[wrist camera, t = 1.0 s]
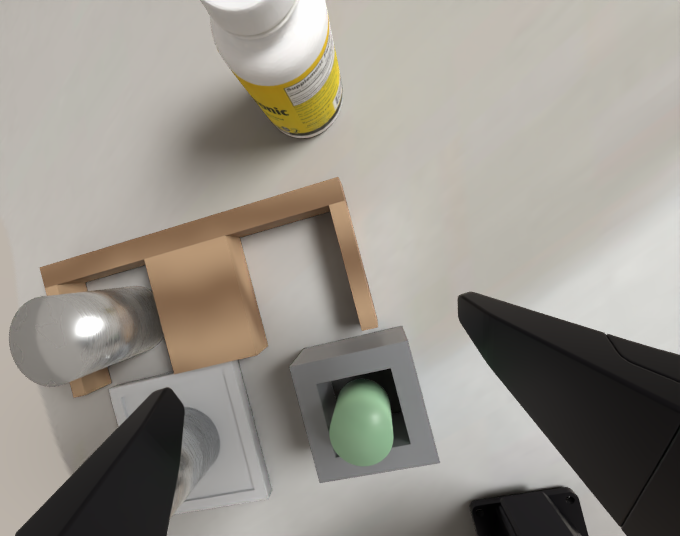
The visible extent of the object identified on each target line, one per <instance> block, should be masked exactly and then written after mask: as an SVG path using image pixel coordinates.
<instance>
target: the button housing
mask: <svg viewBox="0 0 680 536" xmlns="http://www.w3.org/2000/svg"><path fill="white" fill-rule="evenodd" d="M289 368H290V372H291V376H292V379H293V383H294V387H295V391H296V395H297V398H298V402H299V406H300V410H301V414H302V417H303V421H304V425H305V429H306V433H307V436H308V440H309V444H310V448H311V452H312V455H313V459H314V463H315V467H316V471H317V475H318V478H319V482H320V483H323V482H329V481H335V480H341V479H347V478H353V477H359V476H365V475H371V474H377V473H383V472H389V471H395V470H401V469H407V468H413V467H419V466H425V465H431V464H437V463H440V461H439V457H438V453H437V449H436V445H435V442H434V438H433V434H432V430H431V426H430V423H429V419H428V415H427V411H426V407H425V404H424V400H423V396H422V392H421V388H420V385H419V381H418V377H417V373H416V369H415V366H414V362H413V358H412V354H411V350H410V347H409V343H408V339H407V337H406V334H405V332H404V329H403V327H402V326H400V327H395V328H391V329H387V330H382V331H378V332H374V333H369V334H365V335H361V336H356V337H352V338H348V339H343V340H339V341H335V342H330V343H326V344H321V345H317V346H313V347H308V348H304V349H303V350H302V352H301V353H300V354H299V355H298V357H297V358H296V359H295V360H294V362H293V363H292V364H291V365H290V367H289ZM389 368H391V371H392V375H393V378H394V382H395V386H396V390H397V394H398V397H399V401H400V405H401V409H402V412H399V413H394V414H391V417H392V426H393V445H392V448H391V450H390V452H389V454H388V455H387V456H386V457H385V458H384V459H383V460H382V461H381V462H379V463H377V464H374V465H371V466H356V465H352V464H350V463H348V462H346V461H345V460H343V459H342V458H341V457H340V456H339V455H338V454H337V453H336V452H335V450H334V448H333V446H332V444H331V441H330V436H329V430H330V424H331V421H332V417H333V413H334V409H335V406H336V402H337V401H336V398H335V394H334V390H333V386H332V382H331V381H333V380H338V379H342V378H347V377H352V376H356V375H361V374H366V373H371V372H375V371H380V370H385V369H389Z"/></svg>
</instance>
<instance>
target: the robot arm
mask: <svg viewBox="0 0 680 536" xmlns="http://www.w3.org/2000/svg"><path fill="white" fill-rule="evenodd" d="M458 318H459V321H460V323H461V324H462V326H463V327H464V329H465V330H466V332H467V334H468V335H469V337H470V338H471V340H472V341H473V343H474V344H475V346H476V347H477V349H478V350H479V352H480V354H481V355H482V357H483V358H484V360H485V361H486V362H487V364H488V365H489V366H490V368H491V369H492V370H493V371H494V373H495V374H496V375H497V376H498V378H499V379H500V380H501V381H502V383H503V384H504V385H505V386H506V387H507V389H508V390H509V391H510V392H511V394H512V395H513V396H514V397H515V398H516V400H517V401H518V402H519V403H520V405H521V406H522V407H523V408H524V410H525V411H526V412H527V413H528V414H529V416H530V417H531V418H532V419H533V421H534V422H535V423H536V424H537V426H538V427H539V428H540V429H541V430H542V432H543V433H544V434H545V435H546V437H547V438H548V439H549V440H550V442H551V443H552V444H553V445H554V446H555V448H556V449H557V450H558V451H559V453H560V454H561V455H562V456H563V458H564V459H565V460H566V461H567V462H568V464H569V465H570V466H571V467H572V469H573V470H574V471H575V472H576V474H577V475H578V476H579V477H580V478H581V480H582V481H583V482H584V483H585V485H586V486H587V487H588V488H589V489H590V491H591V492H592V493H593V494H594V496H595V497H596V498H597V499H598V501H599V502H600V503H601V504H602V505H603V507H604V508H605V509H606V510H607V512H608V513H609V514H610V515H611V517H612V518H613V519H614V520H615V521H616V523H617V524H618V525H619V526H620V527H621V529H622V530H623V532H624V533H625V534H626V535H627V536H680V355H678V354H675V353H671V352H667V351H664V350H660V349H656V348H653V347H649V346H646V345H643V344H639V343H636V342H633V341H629V340H626V339H623V338H619V337H616V336H613V335H610V334H607V335H606V334H605V333H603V332H600V331H597V330H594V329H590V328H587V327H584V326H581V325H577V324H574V323H571V322H568V321H565V320H561V319H558V318H555V317H552V316H549V315H545V314H542V313H539V312H536V311H533V310H529V309H526V308H523V307H520V306H517V305H513V304H510V303H507V302H504V301H500V300H497V299H494V298H491V297H488V296H484V295H481V294H478V293H475V292H467V293H464V294H461V295H459V296H458ZM184 416H185V409H184V405H183V403H182V402H181V401H180V399H179V398H178V397H177V395H176V394H175V393H174V391H173V390H172V389H171V388H169V387H165V388H162V389H159V390H156V391H154V392H152V393H151V394H150V395H149V396H148V397H147V398H146V399H145V400H144V401H143V402H142V403H141V404H140V406H139V407H138V408H137V409H136V410H135V411H134V412H133V413H132V414H131V415H130V416H129V417H128V418H127V419H126V420H125V421H124V422H123V423H122V424H121V425H120V426H119V427H118V428H117V429H116V430H115V431H114V432H113V433H112V434H111V435H110V436H109V437H108V439H107V440H106V441H105V442H104V443H103V444H102V445H101V446H100V447H99V448H98V449H97V450H96V451H95V452H94V453H93V454H92V455H91V456H90V457H89V458H88V459H87V460H86V461H85V462H84V463H83V464H82V465H81V466H80V467H79V468H78V469H77V471H76V472H75V473H74V474H73V475H72V476H71V477H70V478H69V479H68V480H67V481H66V482H65V483H64V484H63V485H62V486H61V487H60V488H59V489H58V490H57V491H56V492H55V493H54V494H53V495H52V496H51V497H50V498H49V499H48V500H47V502H46V503H45V504H44V505H43V506H42V507H41V508H40V509H39V510H38V511H37V512H36V513H35V514H34V515H33V516H32V517H31V518H30V519H29V520H28V521H27V522H26V523H25V524H24V525H23V526H22V527H21V528H20V529H19V530H18V531H17V532H16V534H15V536H166V535H167V530H168V525H169V520H170V515H171V509H172V504H173V499H174V494H175V489H176V484H177V479H178V473H179V467H180V459H181V449H182V438H183V427H184ZM568 496H570V497H569V498H568V499H566V498H567V497H568ZM478 509H481V511H479V512H478V511H477V510H478ZM470 511H471V514H472V518H473V522H474V526H475V530H476V534H477V536H588V532H587V528H586V525H585V521H584V517H583V513H582V509H581V505H580V502H579V498H578V496H577V495H576V494H575V493H574V492H573V490H571V489H570V488H568V487H563V488H556V489H549V490H543V491H536V492H529V493H522V494H516V495H509V496H502V497H496V498H489V499H482V500H476V501H473V502H472V503H471V504H470Z"/></svg>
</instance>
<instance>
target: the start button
mask: <svg viewBox="0 0 680 536" xmlns="http://www.w3.org/2000/svg"><path fill="white" fill-rule="evenodd" d="M329 436H330V441H331V444H332V446H333V448H334V450H335V452H336V453H337V454H338V455H339V456H340V457H341V458H342V459H343V460H345V461H346V462H348V463H350V464H352V465H356V466H371V465H374V464H377V463H379V462H381V461H382V460H383V459H384V458H385V457H386V456H387V455H388V454H389V452H390V450H391V448H392V445H393V426H392V417H391V407H390V400H389V397H388V395H387V393H386V391H385V390H384V389H383V387H381V386H380V385H379V384H378V383H376V382H374V381H372V380H369V379H356V380H352V381H350V382H349V383H347V384H346V385H345V386H344V387H343V388H342V389H341V391H340V393H339V395H338V398H337V402H336V406H335V409H334V413H333V417H332V421H331V424H330V430H329Z"/></svg>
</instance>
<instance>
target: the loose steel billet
mask: <svg viewBox="0 0 680 536" xmlns="http://www.w3.org/2000/svg"><path fill="white" fill-rule="evenodd" d="M184 409H185V416H184V427H183V438H182V449H181V459H180V467H179V473H178V479H177V484H176V489H175V494H174V499H173V504H172V509H171V515H170V518H171V517H172V516H173V515H174V513H175V512H176V511H177V510H178V508H179V507H180V506H181V505H182V503H183V502H184V501H185V499H186V498H187V497H188V496H189V494H190V493H191V492H192V491H193V489H194V488H195V487H196V486H197V484H198V483H199V482H200V480H201V479H202V478H203V477H204V475H205V474H206V473H207V472H208V470H209V469H210V468H211V466H212V465H213V464H214V462H215V461H216V459H217V457H218V454H219V450H220V438H219V434H218V430H217V428H216V426H215V425H214V423H213V422H212V420H211V419H210V418H209V417H208V416H207V415H206V414H204V413H203V412H201V411H199V410H197V409H194V408H190V407H184Z"/></svg>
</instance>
